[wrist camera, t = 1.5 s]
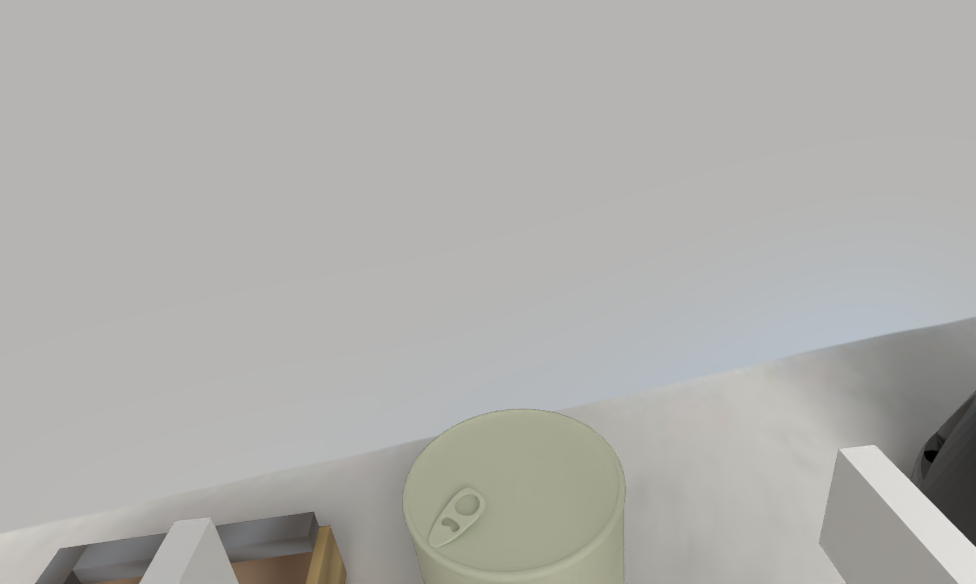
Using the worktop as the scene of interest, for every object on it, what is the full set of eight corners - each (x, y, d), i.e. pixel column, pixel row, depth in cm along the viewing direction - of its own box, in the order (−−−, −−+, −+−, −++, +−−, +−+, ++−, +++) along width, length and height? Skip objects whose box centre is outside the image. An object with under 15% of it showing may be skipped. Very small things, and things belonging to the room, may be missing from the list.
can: (407, 655, 29) (354, 481, 24) (529, 539, 35) (508, 376, 29) (543, 813, 23) (513, 624, 18) (667, 642, 28) (673, 457, 23)
